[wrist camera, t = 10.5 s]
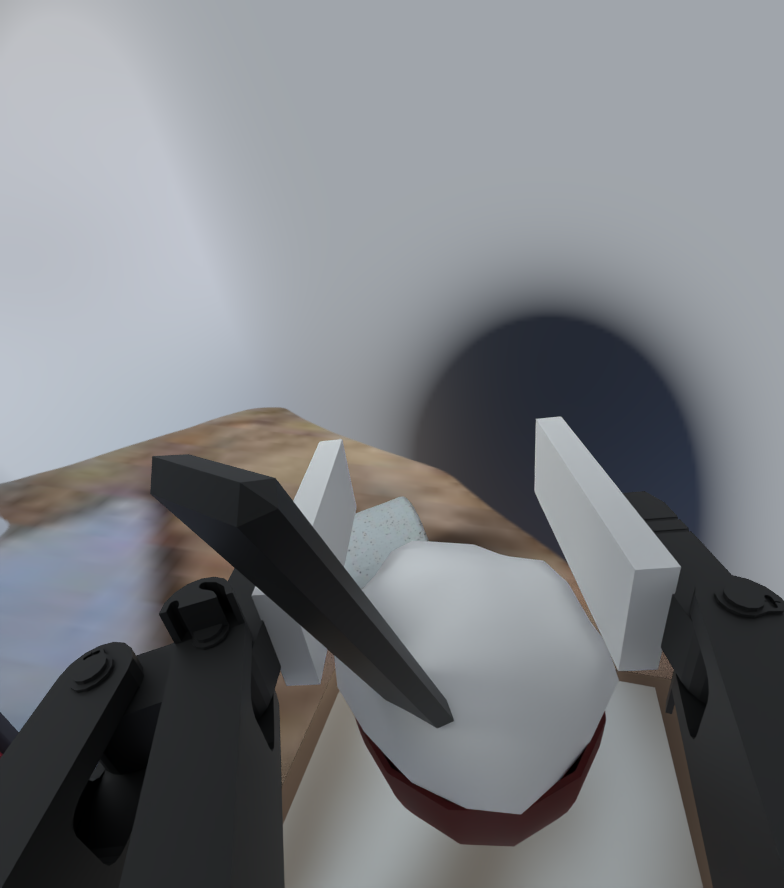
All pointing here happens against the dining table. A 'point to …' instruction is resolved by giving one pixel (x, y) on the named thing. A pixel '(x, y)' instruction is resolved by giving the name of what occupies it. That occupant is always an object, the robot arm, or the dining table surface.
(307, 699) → the dining table surface
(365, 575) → the ceramic mug
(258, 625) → the robot arm
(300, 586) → the cocoa
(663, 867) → the walnut stand
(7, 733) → the calculator
